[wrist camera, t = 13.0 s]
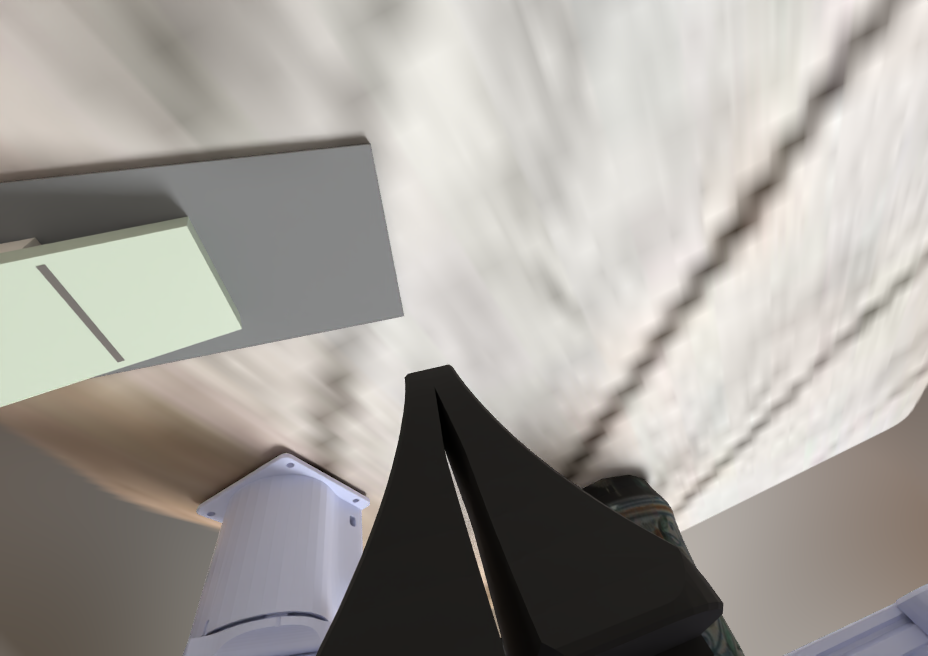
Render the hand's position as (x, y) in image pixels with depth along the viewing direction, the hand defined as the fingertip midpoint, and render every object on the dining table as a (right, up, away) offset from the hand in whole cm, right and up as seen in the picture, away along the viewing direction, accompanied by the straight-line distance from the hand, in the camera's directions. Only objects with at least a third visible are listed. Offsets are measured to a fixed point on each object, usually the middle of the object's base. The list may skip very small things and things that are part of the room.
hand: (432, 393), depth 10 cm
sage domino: (-10, +4, +5) cm, 12 cm away
